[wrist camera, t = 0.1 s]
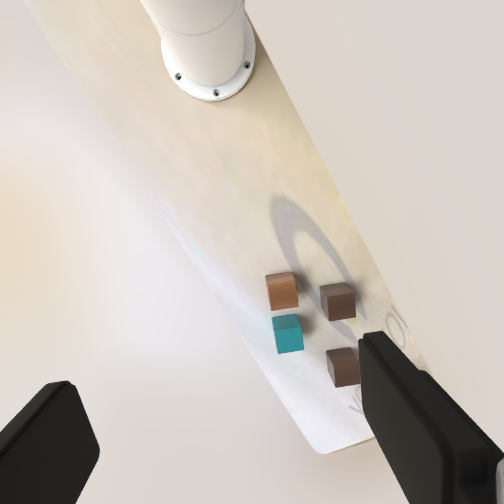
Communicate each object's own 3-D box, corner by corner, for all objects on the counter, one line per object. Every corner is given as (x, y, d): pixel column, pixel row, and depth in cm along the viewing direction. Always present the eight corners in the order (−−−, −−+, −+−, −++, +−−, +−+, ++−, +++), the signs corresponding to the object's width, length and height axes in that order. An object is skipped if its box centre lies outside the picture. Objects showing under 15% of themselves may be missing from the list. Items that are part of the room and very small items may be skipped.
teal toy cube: (271, 317, 49) (274, 330, 45) (296, 313, 49) (301, 326, 45) (275, 339, 50) (278, 354, 46) (298, 335, 50) (304, 349, 46)
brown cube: (326, 350, 51) (333, 366, 47) (349, 347, 51) (359, 362, 47) (328, 370, 52) (335, 387, 48) (351, 367, 52) (360, 383, 48)
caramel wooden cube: (265, 275, 47) (267, 285, 43) (290, 271, 47) (295, 280, 43) (268, 299, 48) (271, 311, 44) (293, 295, 48) (298, 306, 44)
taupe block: (319, 286, 48) (326, 296, 44) (344, 282, 48) (354, 292, 44) (321, 309, 49) (329, 321, 45) (346, 305, 49) (356, 317, 45)
